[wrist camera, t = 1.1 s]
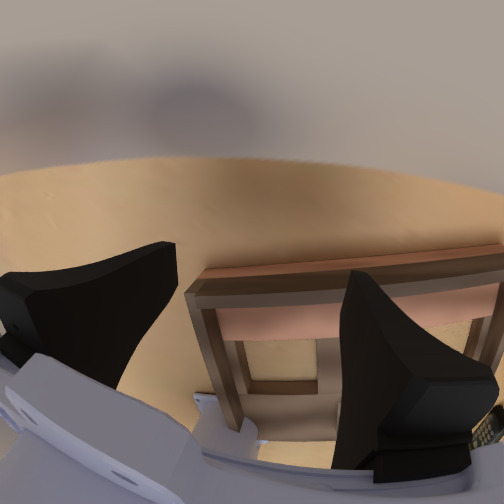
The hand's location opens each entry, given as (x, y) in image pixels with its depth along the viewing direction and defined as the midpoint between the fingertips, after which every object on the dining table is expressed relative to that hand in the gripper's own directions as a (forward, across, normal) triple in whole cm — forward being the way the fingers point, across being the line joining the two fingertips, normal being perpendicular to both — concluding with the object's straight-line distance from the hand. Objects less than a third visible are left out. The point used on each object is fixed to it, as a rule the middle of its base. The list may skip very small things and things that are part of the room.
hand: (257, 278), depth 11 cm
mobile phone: (+9, -35, +29) cm, 47 cm away
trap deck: (+10, -9, +14) cm, 19 cm away
